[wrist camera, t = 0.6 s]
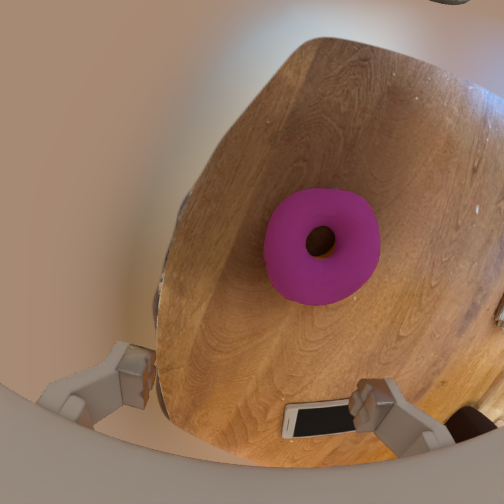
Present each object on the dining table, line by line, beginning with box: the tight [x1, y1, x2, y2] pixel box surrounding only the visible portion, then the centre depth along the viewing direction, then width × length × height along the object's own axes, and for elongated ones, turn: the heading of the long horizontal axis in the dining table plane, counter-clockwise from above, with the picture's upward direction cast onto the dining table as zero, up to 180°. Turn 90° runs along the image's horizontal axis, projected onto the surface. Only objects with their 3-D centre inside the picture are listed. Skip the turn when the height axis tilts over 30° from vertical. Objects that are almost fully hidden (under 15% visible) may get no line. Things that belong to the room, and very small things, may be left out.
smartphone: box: [281, 399, 356, 439], centre depth 33 cm, size 7×15×1 cm, turn 89°
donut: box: [263, 188, 380, 306], centre depth 24 cm, size 10×10×5 cm
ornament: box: [494, 420, 504, 428], centre depth 38 cm, size 7×7×8 cm
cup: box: [446, 406, 498, 444], centre depth 31 cm, size 10×14×12 cm
